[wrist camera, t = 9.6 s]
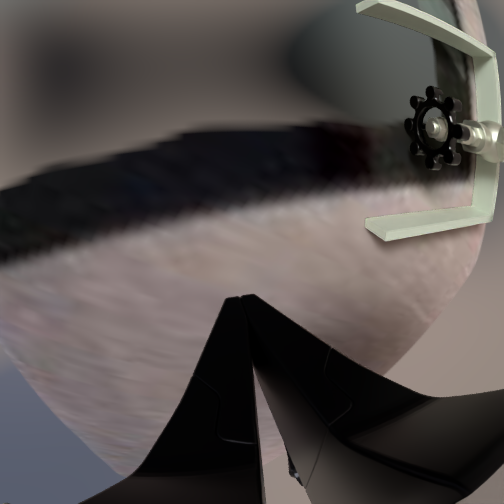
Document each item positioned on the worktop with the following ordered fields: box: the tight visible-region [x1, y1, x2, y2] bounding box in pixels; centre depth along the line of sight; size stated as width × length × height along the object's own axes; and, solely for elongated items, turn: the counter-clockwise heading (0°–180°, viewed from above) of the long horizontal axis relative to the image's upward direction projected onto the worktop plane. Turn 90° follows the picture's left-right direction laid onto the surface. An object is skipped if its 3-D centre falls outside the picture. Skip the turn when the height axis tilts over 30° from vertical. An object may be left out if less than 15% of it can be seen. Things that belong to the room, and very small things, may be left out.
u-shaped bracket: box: [356, 0, 501, 241], centre depth 18 cm, size 19×16×3 cm
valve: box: [404, 86, 504, 170], centre depth 17 cm, size 7×7×12 cm
